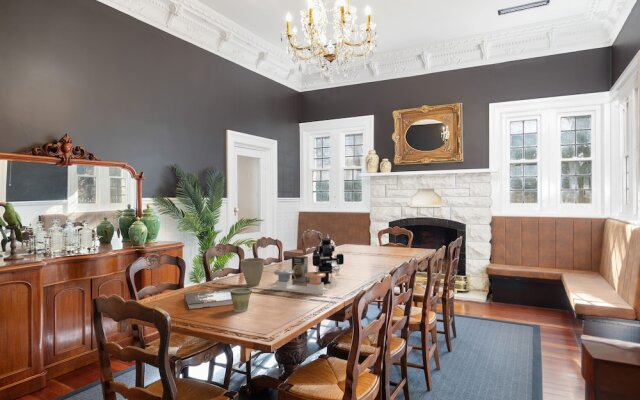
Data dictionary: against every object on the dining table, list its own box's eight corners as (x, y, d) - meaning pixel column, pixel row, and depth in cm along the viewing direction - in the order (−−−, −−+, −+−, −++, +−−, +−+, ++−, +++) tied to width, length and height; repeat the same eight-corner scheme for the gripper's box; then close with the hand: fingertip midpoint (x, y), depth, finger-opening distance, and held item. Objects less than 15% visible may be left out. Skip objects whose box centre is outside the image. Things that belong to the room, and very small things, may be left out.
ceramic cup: (241, 314, 194) (241, 293, 194) (226, 311, 199) (225, 291, 199) (259, 307, 205) (259, 288, 205) (244, 305, 210) (244, 285, 210)
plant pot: (267, 282, 264) (267, 257, 263) (261, 287, 249) (261, 261, 249) (244, 282, 265) (244, 257, 265) (237, 287, 250) (237, 261, 250)
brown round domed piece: (301, 285, 235) (301, 274, 235) (310, 281, 246) (310, 270, 246) (320, 287, 230) (320, 276, 230) (328, 282, 241) (328, 272, 241)
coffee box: (291, 281, 267) (291, 256, 267) (295, 279, 273) (295, 255, 273) (304, 282, 264) (303, 257, 263) (308, 280, 270) (308, 256, 269)
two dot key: (270, 282, 243) (270, 271, 243) (280, 278, 254) (280, 268, 254) (288, 284, 238) (288, 273, 238) (297, 280, 249) (297, 269, 249)
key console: (270, 289, 245) (270, 280, 245) (278, 286, 253) (278, 278, 253) (322, 294, 231) (322, 285, 231) (328, 291, 240) (328, 282, 239)
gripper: (311, 244, 250) (313, 252, 235) (341, 242, 252) (345, 250, 237) (311, 261, 253) (314, 270, 237) (341, 259, 254) (345, 268, 239)
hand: (329, 264), depth 238 cm, fingers open, 9 cm apart
